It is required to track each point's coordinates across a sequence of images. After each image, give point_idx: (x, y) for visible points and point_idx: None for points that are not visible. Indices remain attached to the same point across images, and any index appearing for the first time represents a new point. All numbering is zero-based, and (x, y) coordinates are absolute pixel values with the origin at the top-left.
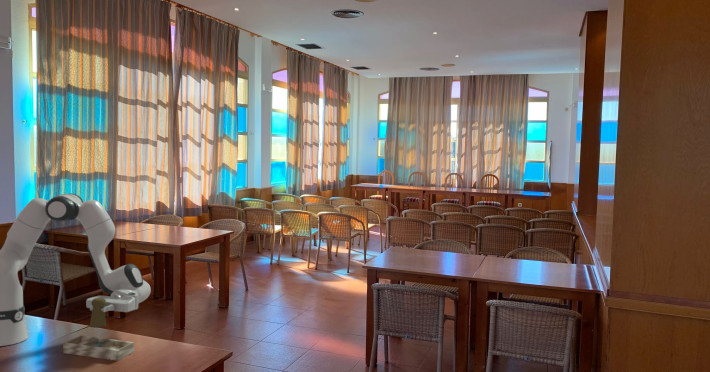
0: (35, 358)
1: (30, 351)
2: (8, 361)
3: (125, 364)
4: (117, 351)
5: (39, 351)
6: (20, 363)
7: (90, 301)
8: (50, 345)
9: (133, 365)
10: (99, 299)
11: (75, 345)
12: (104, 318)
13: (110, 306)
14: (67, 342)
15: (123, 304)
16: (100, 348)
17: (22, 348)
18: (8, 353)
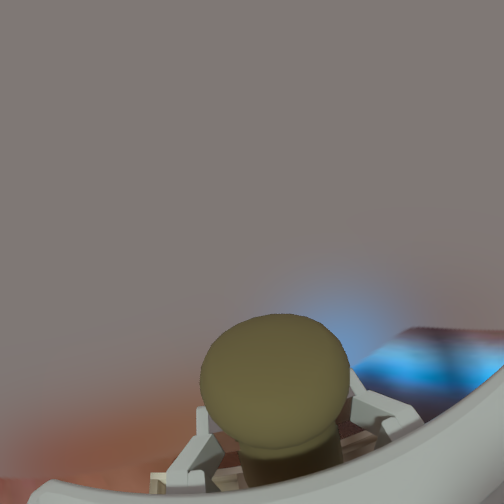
0: (413, 368)
1: (472, 364)
2: (430, 329)
3: (130, 472)
4: (154, 473)
5: (461, 380)
6: (401, 343)
7: (481, 387)
8: None
9: (106, 471)
10: (228, 336)
11: (360, 433)
12: (242, 466)
13: (180, 459)
14: None
15: (62, 481)
16: (233, 467)
17: (501, 352)
18: (481, 332)
